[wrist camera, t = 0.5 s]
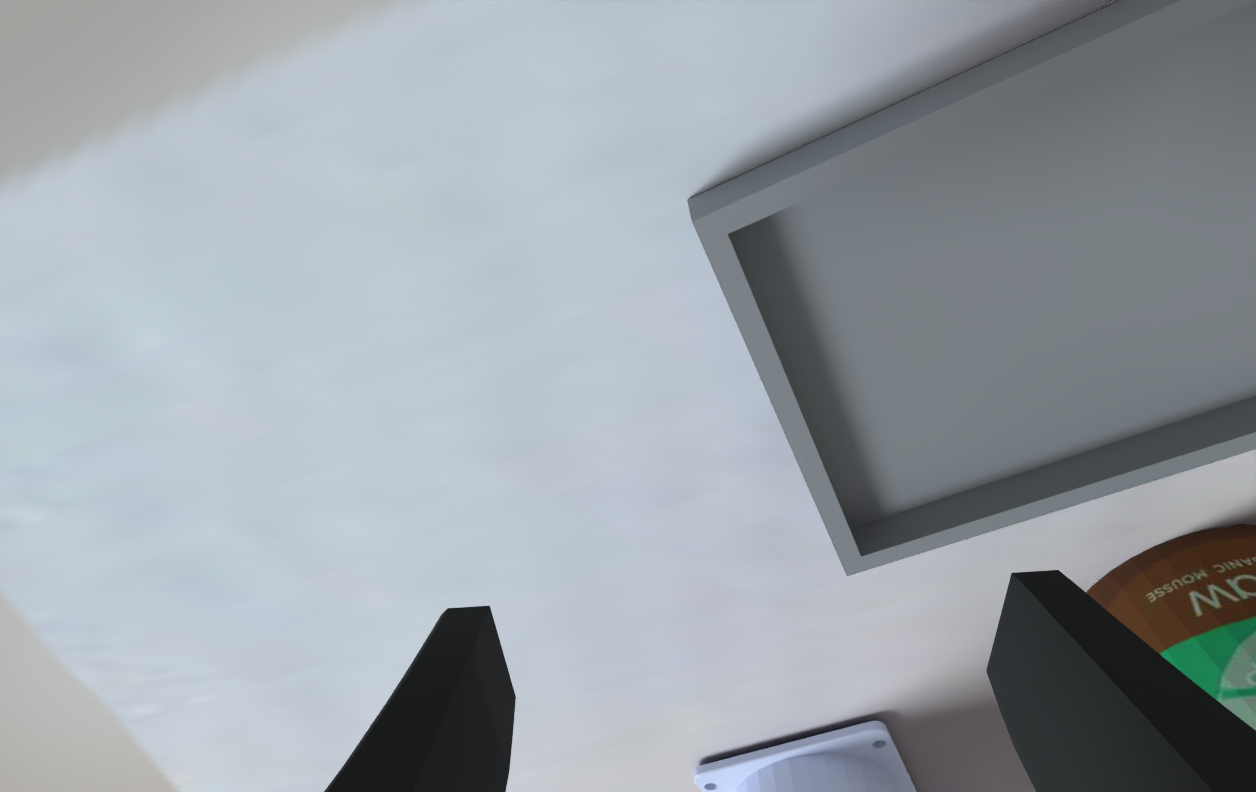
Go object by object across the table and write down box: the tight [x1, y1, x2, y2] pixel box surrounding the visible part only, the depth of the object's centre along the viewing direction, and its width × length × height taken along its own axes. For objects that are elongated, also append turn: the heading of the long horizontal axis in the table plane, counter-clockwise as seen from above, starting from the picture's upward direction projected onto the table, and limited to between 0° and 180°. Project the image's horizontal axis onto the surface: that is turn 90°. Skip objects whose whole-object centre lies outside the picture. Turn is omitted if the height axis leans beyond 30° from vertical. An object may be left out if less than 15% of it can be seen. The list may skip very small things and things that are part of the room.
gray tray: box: [687, 0, 1256, 576], centre depth 17 cm, size 12×20×2 cm, turn 116°
